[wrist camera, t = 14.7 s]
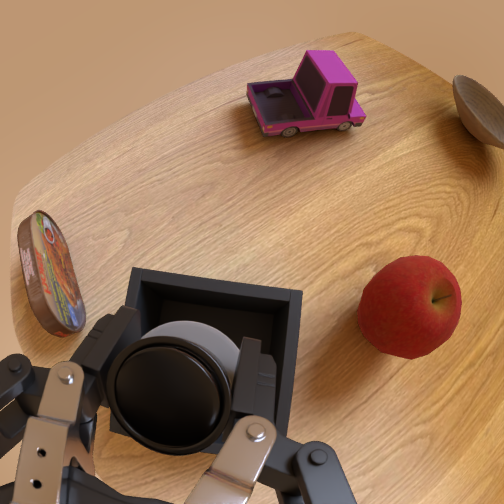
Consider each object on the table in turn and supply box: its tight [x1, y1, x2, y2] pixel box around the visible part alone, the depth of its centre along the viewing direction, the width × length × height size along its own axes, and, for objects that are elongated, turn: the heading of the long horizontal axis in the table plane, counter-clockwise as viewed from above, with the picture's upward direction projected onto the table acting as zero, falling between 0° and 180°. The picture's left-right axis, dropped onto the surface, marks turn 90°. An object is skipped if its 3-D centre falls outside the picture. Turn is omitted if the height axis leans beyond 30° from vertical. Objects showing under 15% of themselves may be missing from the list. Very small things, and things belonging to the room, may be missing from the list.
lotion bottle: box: [106, 321, 240, 456], centre depth 17 cm, size 6×6×20 cm
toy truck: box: [246, 50, 366, 137], centre depth 38 cm, size 11×16×10 cm
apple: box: [357, 255, 462, 360], centre depth 27 cm, size 10×10×14 cm
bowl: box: [453, 75, 504, 149], centre depth 44 cm, size 18×18×8 cm
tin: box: [17, 210, 86, 337], centre depth 29 cm, size 15×3×8 cm, turn 26°
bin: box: [110, 267, 303, 454], centre depth 27 cm, size 14×14×10 cm
